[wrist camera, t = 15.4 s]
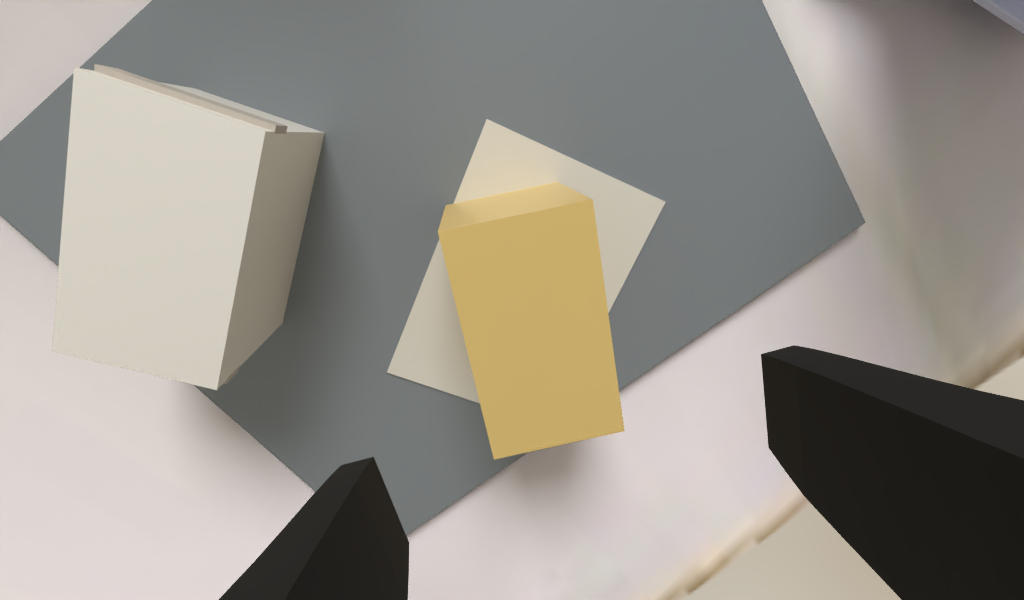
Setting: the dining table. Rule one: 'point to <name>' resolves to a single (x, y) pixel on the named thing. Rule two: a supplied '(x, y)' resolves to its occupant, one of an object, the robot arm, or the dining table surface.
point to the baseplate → (476, 192)
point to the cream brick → (177, 226)
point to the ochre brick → (534, 316)
